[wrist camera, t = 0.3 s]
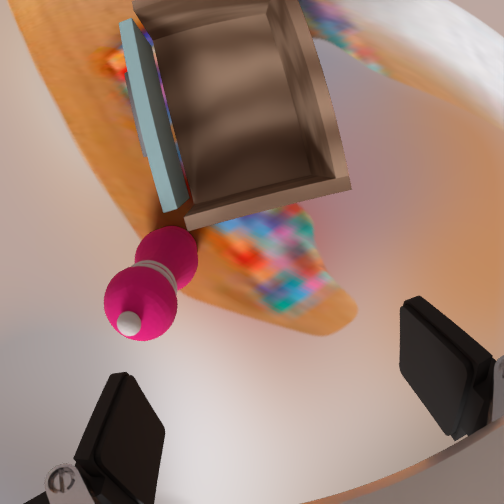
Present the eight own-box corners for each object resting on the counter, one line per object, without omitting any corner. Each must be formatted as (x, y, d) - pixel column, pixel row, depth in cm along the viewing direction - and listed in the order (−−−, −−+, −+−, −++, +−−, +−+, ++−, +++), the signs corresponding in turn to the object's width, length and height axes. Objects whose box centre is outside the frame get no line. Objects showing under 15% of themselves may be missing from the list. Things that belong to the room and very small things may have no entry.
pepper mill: (166, 286, 40) (122, 383, 20) (135, 240, 38) (61, 310, 18) (211, 258, 39) (198, 347, 20) (180, 210, 37) (132, 259, 18)
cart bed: (160, 46, 31) (132, 1, 18) (268, 21, 31) (284, -32, 18) (201, 208, 37) (187, 231, 25) (312, 180, 37) (351, 189, 25)
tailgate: (135, 52, 27) (111, 25, 19) (151, 46, 27) (131, 17, 19) (172, 203, 32) (155, 215, 24) (189, 198, 32) (177, 208, 24)
